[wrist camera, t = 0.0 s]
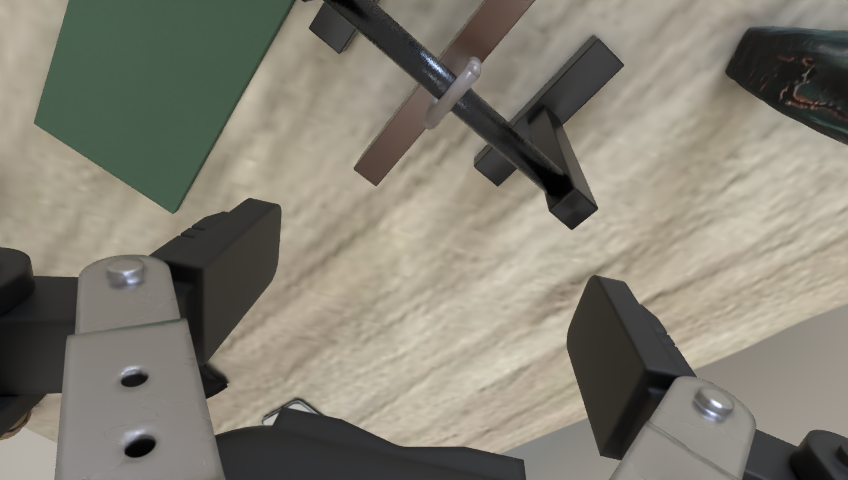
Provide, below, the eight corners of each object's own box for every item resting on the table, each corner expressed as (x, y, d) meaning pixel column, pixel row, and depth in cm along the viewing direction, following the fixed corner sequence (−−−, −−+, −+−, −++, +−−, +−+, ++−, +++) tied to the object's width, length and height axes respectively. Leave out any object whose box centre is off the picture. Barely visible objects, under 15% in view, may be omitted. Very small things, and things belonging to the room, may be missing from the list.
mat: (125, -169, 26) (117, -172, 25) (304, -15, 29) (300, -15, 28) (39, 120, 36) (33, 123, 36) (177, 211, 39) (173, 214, 39)
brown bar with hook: (574, -115, 22) (627, -156, 13) (599, -86, 22) (666, -108, 14) (362, 153, 30) (314, 229, 22) (384, 170, 31) (345, 251, 22)
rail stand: (315, 25, 30) (203, 71, 18) (419, -146, 25) (356, -238, 13) (497, 178, 34) (502, 297, 22) (619, 60, 29) (709, 134, 17)
